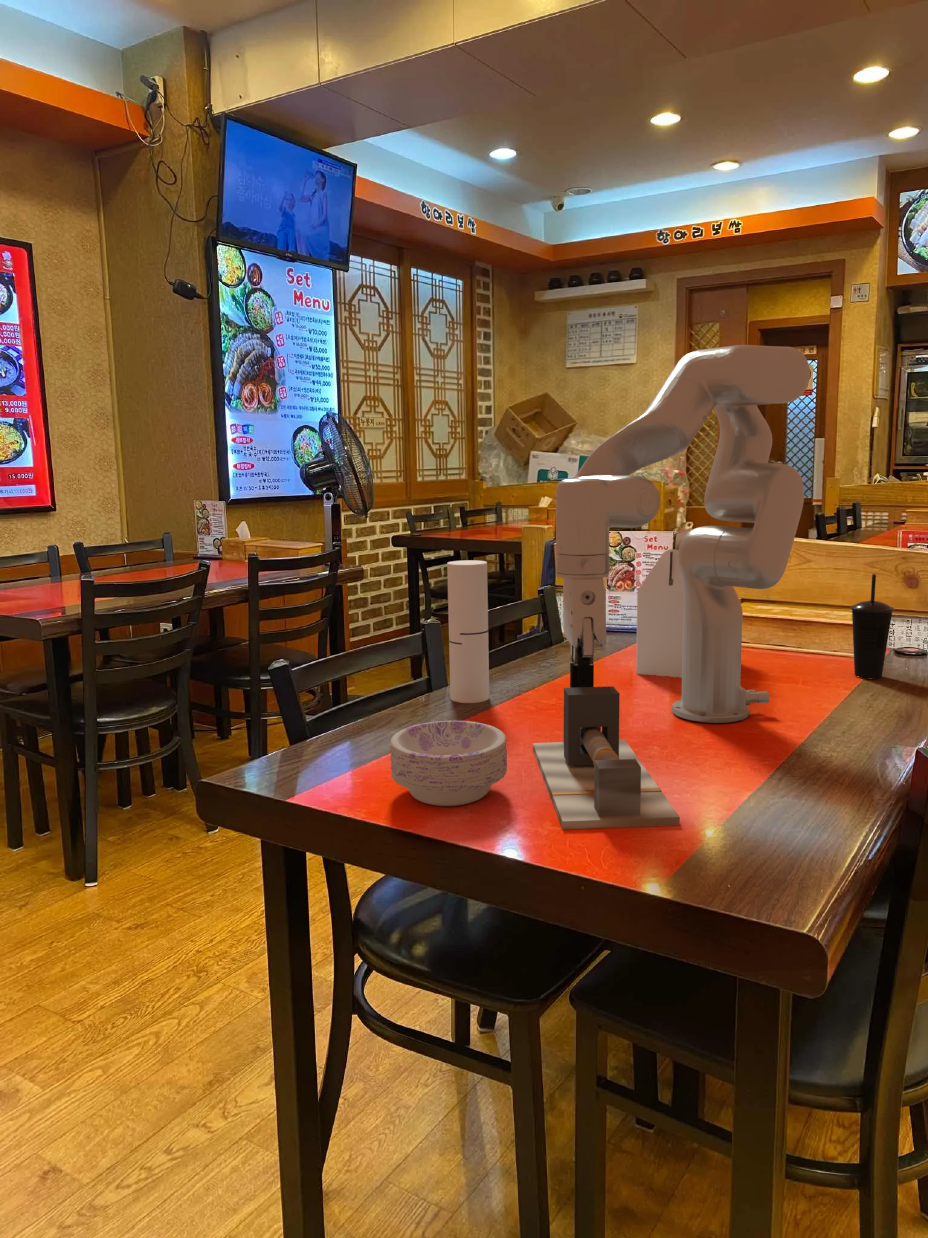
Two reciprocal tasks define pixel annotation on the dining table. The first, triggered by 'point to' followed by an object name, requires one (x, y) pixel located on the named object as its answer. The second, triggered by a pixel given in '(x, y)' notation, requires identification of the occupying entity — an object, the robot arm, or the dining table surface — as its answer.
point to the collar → (589, 719)
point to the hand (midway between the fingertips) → (581, 690)
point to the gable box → (661, 616)
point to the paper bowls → (448, 761)
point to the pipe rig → (602, 786)
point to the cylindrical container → (468, 631)
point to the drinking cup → (870, 635)
